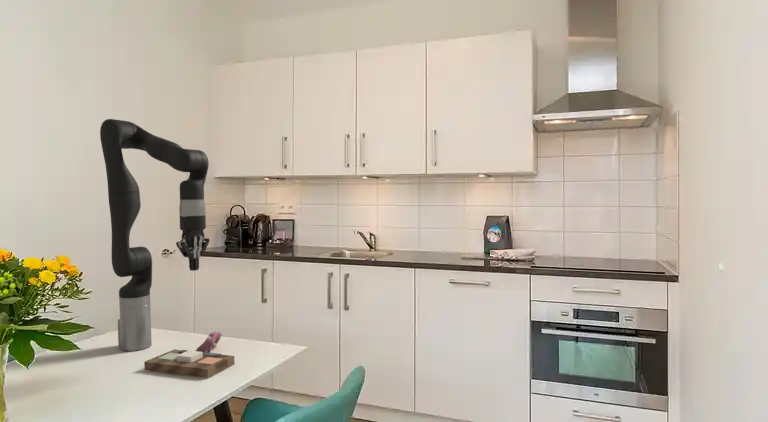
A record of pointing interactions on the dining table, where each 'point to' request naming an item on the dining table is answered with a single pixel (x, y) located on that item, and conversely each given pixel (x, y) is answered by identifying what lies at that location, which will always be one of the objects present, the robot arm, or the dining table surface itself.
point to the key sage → (169, 356)
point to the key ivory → (189, 356)
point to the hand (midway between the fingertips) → (194, 270)
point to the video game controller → (210, 342)
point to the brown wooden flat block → (189, 365)
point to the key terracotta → (209, 361)
